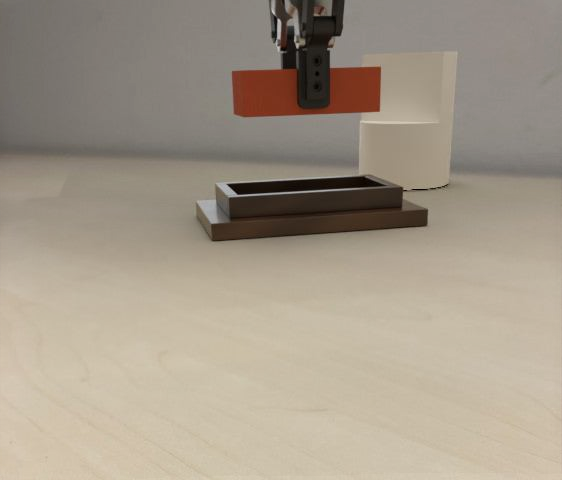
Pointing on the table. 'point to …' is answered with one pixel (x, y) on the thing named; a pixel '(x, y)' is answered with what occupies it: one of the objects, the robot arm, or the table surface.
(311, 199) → the dark wooden tray
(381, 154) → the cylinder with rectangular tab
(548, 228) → the table surface
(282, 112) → the red rectangular block
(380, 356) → the table surface
